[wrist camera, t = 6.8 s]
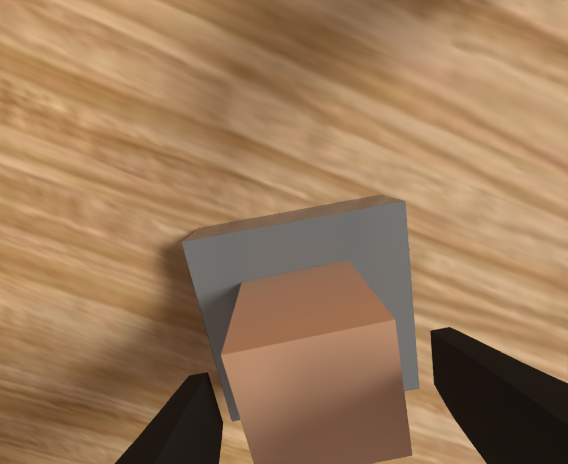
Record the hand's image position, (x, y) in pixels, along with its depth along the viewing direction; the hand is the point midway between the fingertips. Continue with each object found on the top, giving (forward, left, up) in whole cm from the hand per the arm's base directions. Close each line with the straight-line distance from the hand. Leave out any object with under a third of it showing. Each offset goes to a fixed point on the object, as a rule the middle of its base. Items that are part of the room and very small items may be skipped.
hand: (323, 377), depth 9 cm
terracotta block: (0, 0, -3) cm, 3 cm away
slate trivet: (0, 0, -6) cm, 6 cm away
